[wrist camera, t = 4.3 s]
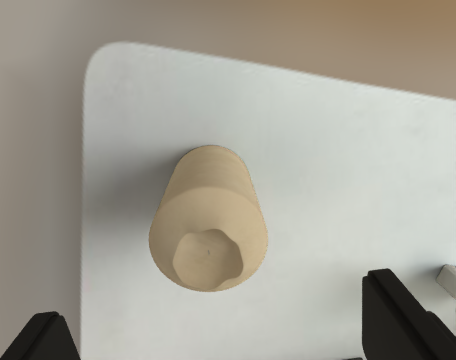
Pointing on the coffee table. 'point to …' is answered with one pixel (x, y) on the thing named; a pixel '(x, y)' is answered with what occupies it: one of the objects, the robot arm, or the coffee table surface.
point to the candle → (209, 223)
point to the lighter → (448, 279)
